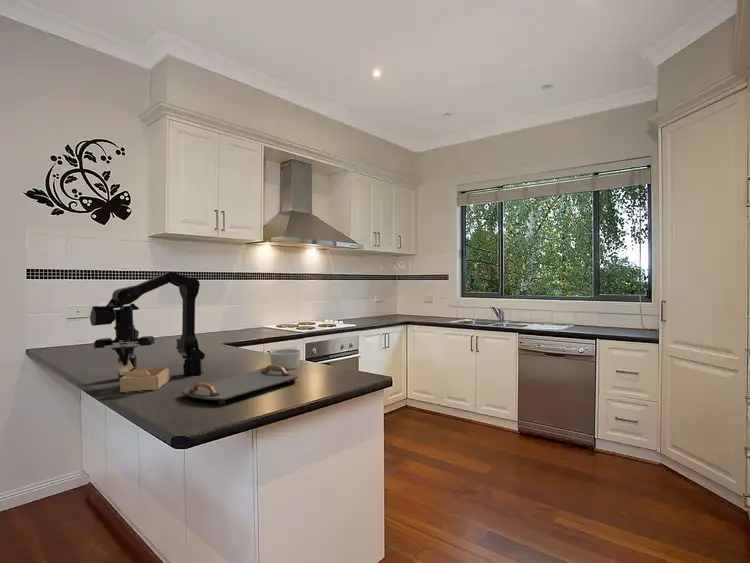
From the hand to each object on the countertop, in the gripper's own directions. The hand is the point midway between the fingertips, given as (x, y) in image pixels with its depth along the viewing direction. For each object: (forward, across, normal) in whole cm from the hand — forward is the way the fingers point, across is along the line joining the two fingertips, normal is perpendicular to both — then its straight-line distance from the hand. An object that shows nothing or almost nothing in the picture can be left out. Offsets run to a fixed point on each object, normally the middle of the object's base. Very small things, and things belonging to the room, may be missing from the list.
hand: (125, 365), depth 163 cm
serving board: (+9, -43, +16) cm, 46 cm away
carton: (+8, -7, 0) cm, 10 cm away
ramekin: (+8, -57, -18) cm, 60 cm away
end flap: (+3, -6, +8) cm, 11 cm away
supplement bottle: (+8, +5, -16) cm, 19 cm away
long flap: (+3, -1, 0) cm, 3 cm away
